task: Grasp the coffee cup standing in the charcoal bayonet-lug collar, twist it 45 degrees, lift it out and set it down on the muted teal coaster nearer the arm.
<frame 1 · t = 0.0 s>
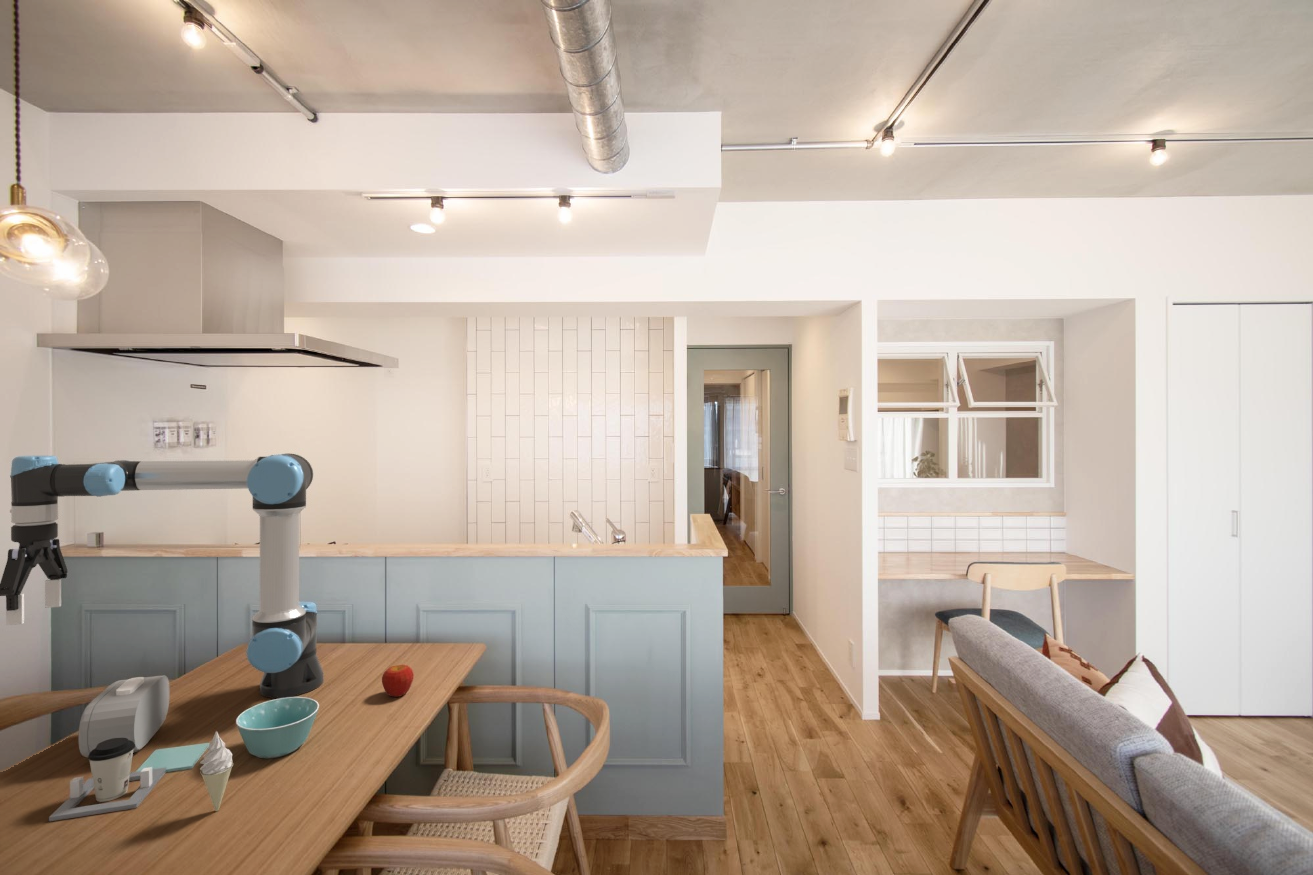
hand: (35, 615, 140), 28 cm above the table, fingers open, 13 cm apart
coffee cup: (112, 795, 119), resting in collar
apple: (397, 694, 165), on the table
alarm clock: (127, 743, 138), on the table
ice cream cone: (216, 811, 114), on the table
collar: (112, 794, 119), on the table
bowl: (278, 749, 137), on the table
coaster: (173, 760, 131), on the table
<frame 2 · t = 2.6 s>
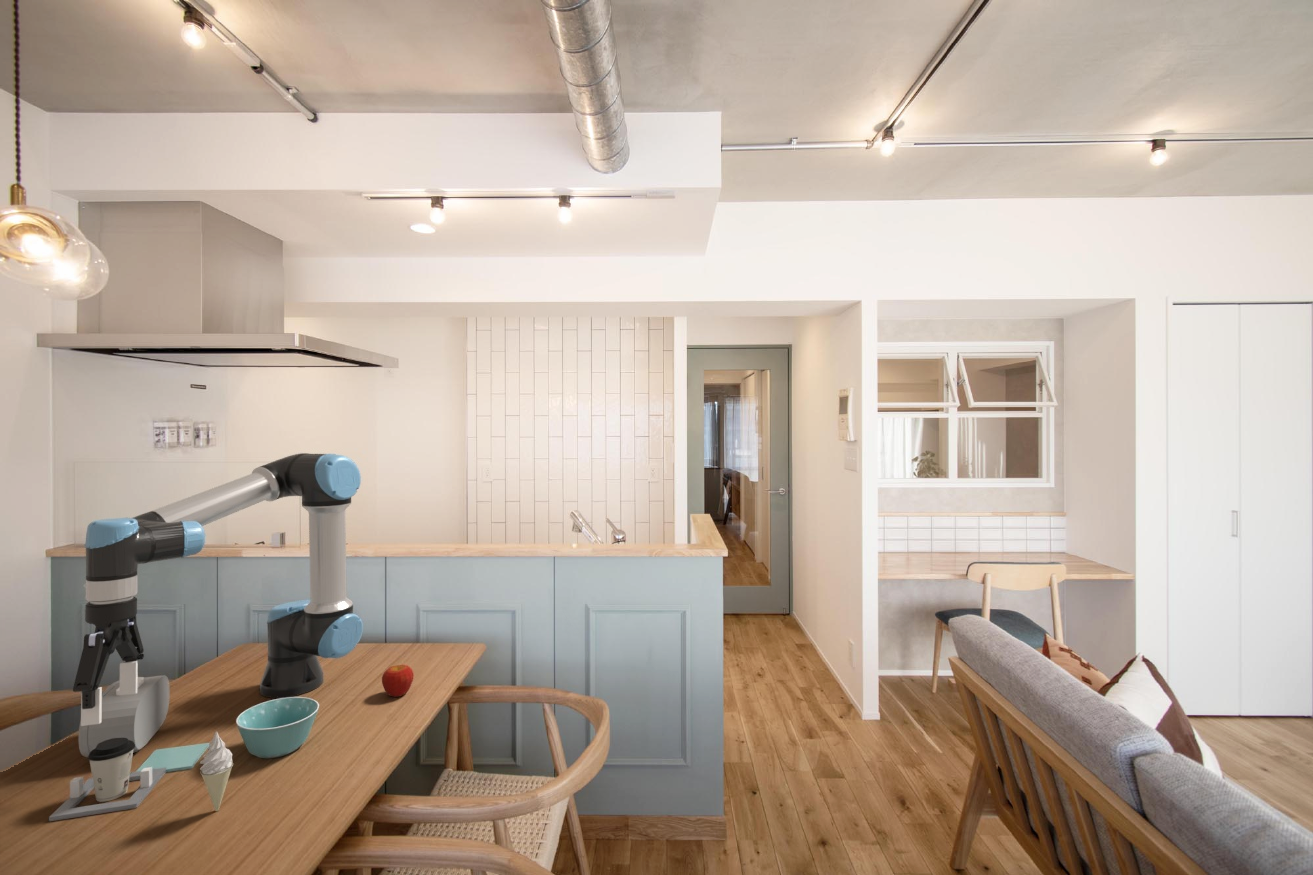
hand: (110, 708, 119), 17 cm above the table, fingers open, 13 cm apart
nothing on the table moved.
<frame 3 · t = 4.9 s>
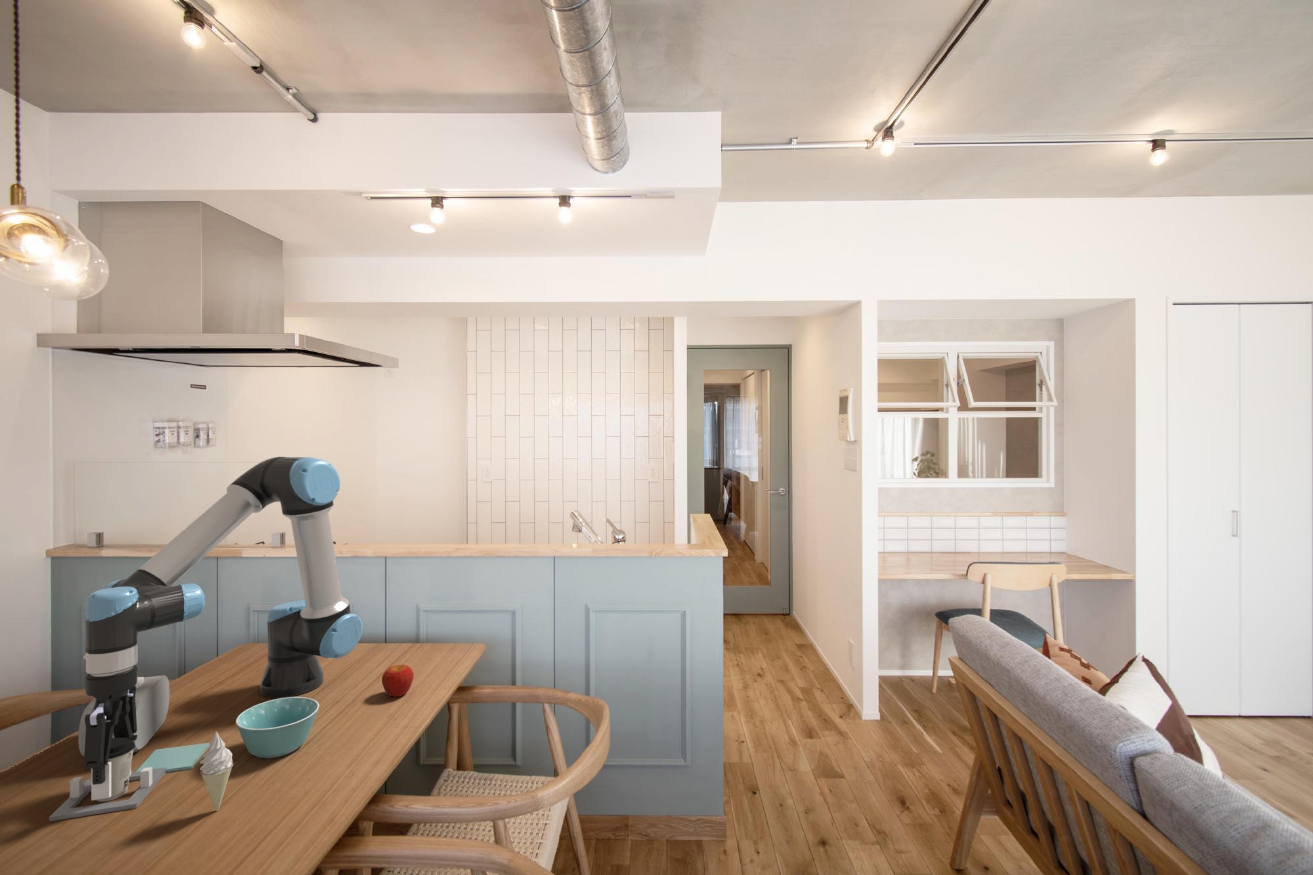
hand: (111, 786, 119), 2 cm above the table, fingers closed on coffee cup, 7 cm apart
coffee cup: (112, 795, 119), resting in collar, touching gripper
everything else where it was.
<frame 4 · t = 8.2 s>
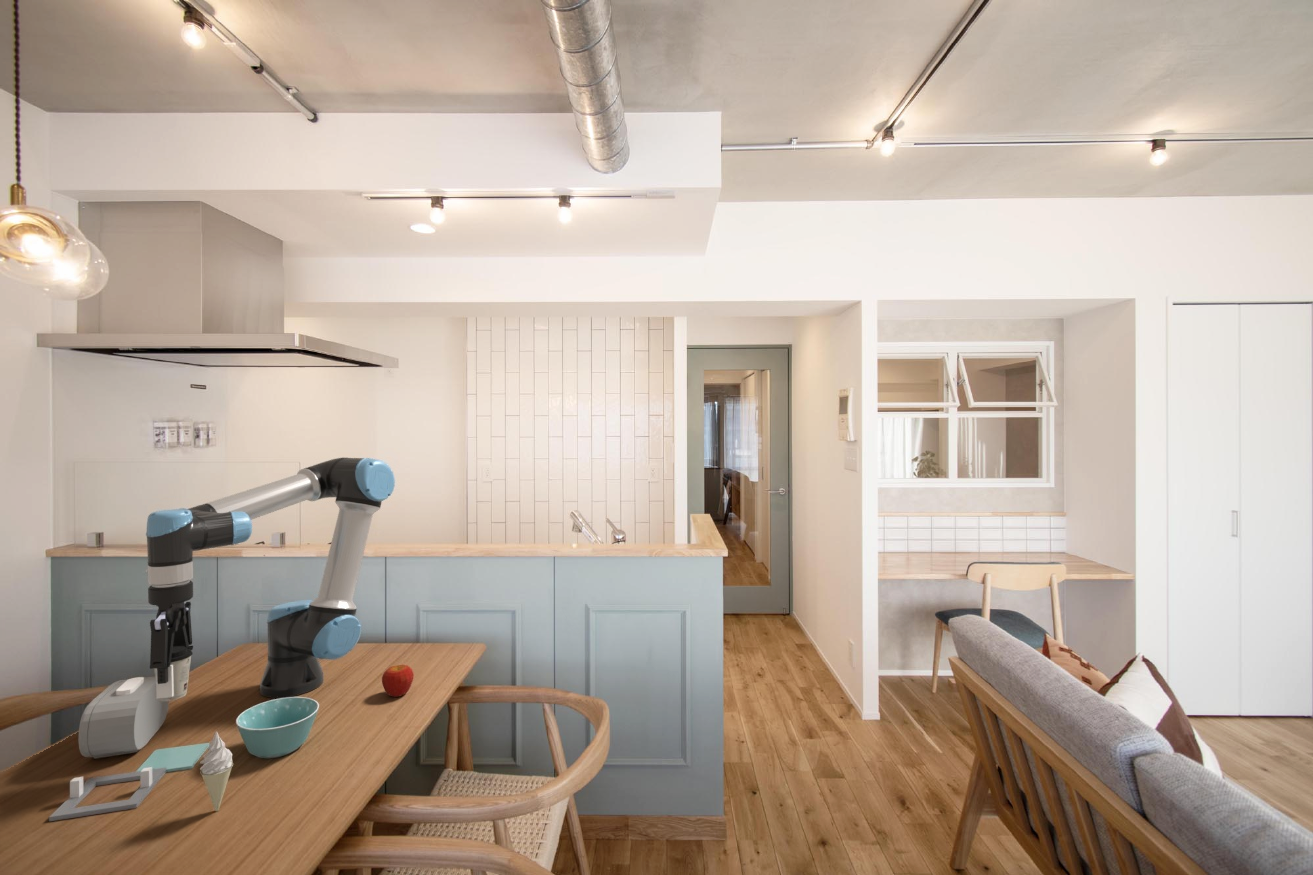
hand: (173, 689, 131), 15 cm above the table, fingers closed on coffee cup, 7 cm apart
coffee cup: (173, 697, 131), point 14 cm above the table, touching gripper
everything else where it was.
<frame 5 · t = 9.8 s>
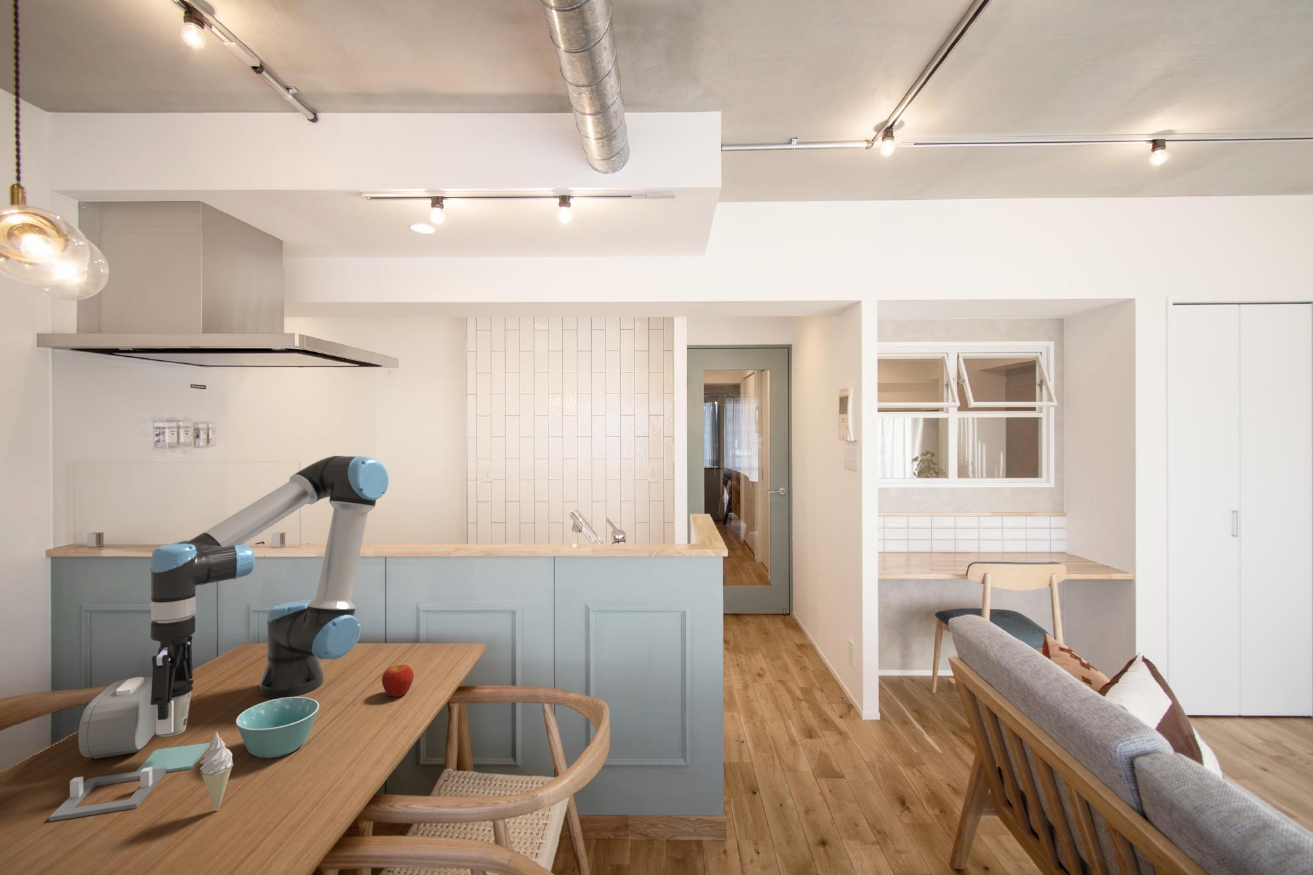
hand: (172, 724, 131), 8 cm above the table, fingers closed on coffee cup, 7 cm apart
coffee cup: (172, 732, 131), point 6 cm above the table, touching gripper
everything else where it was.
when the fingers open (4 cm above the table, at t = 11.4 s): coffee cup drops 1 cm, resting on coaster.
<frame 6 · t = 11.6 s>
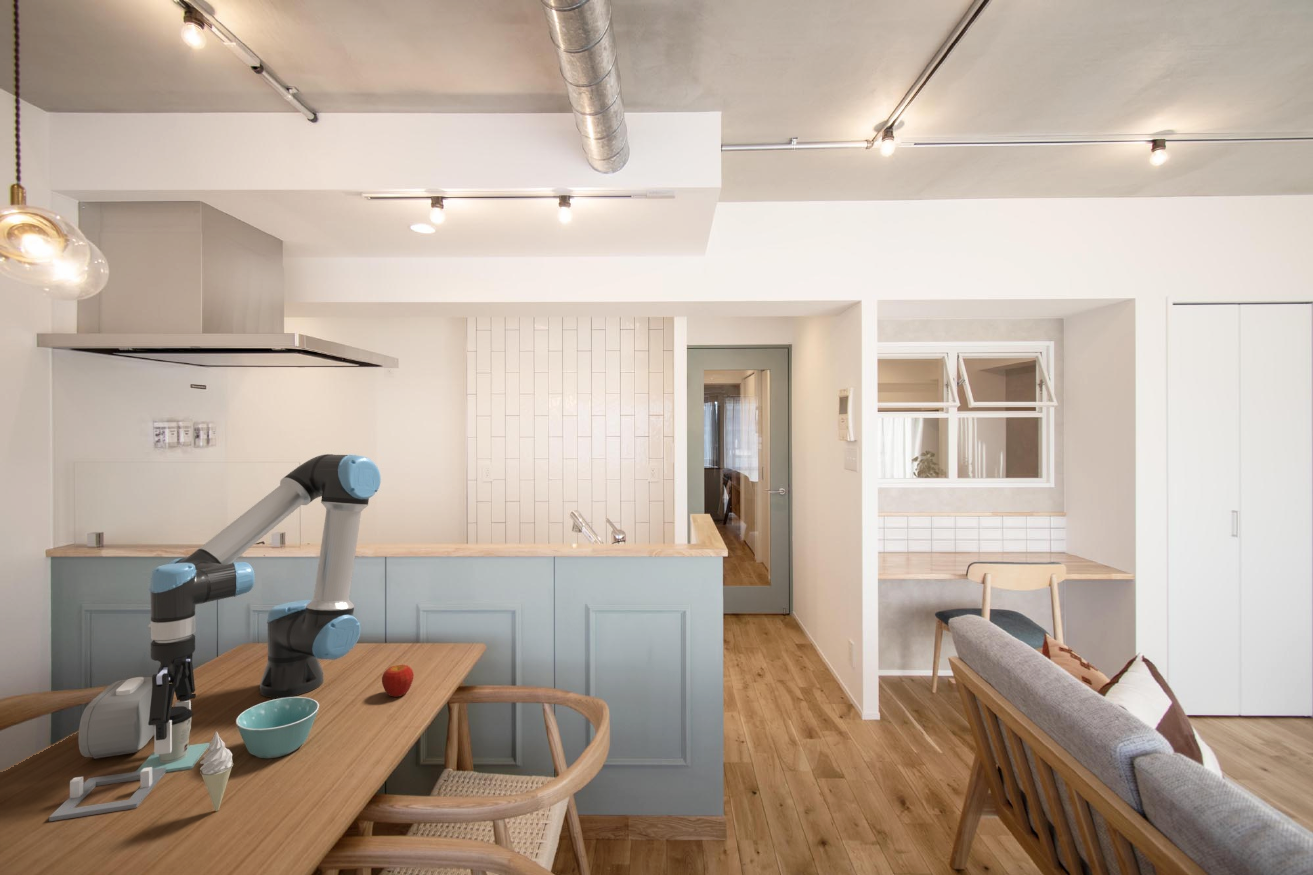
hand: (173, 741, 131), 4 cm above the table, fingers open, 9 cm apart
coffee cup: (173, 758, 131), resting on coaster
everything else where it was.
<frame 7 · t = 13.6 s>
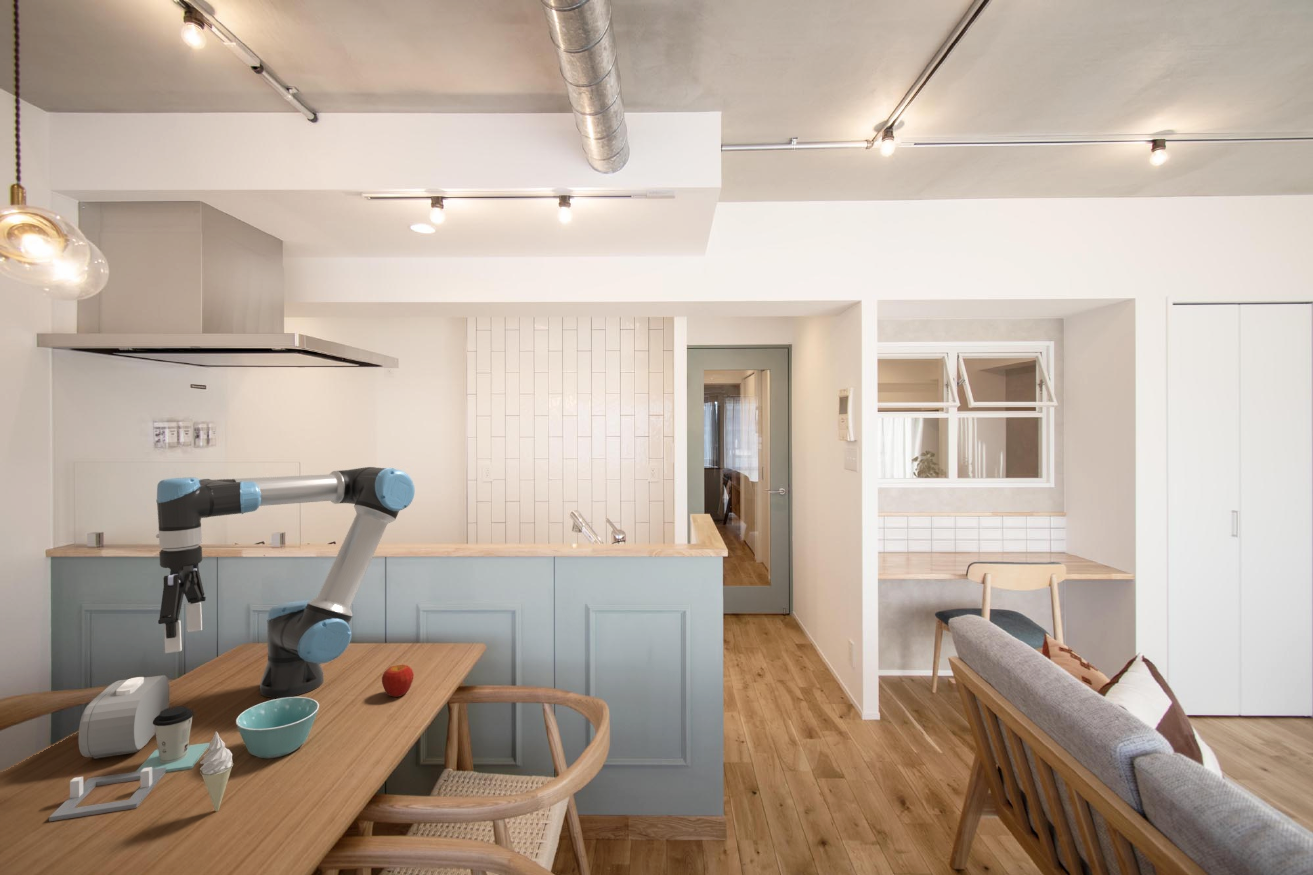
hand: (184, 640, 138), 23 cm above the table, fingers open, 13 cm apart
nothing on the table moved.
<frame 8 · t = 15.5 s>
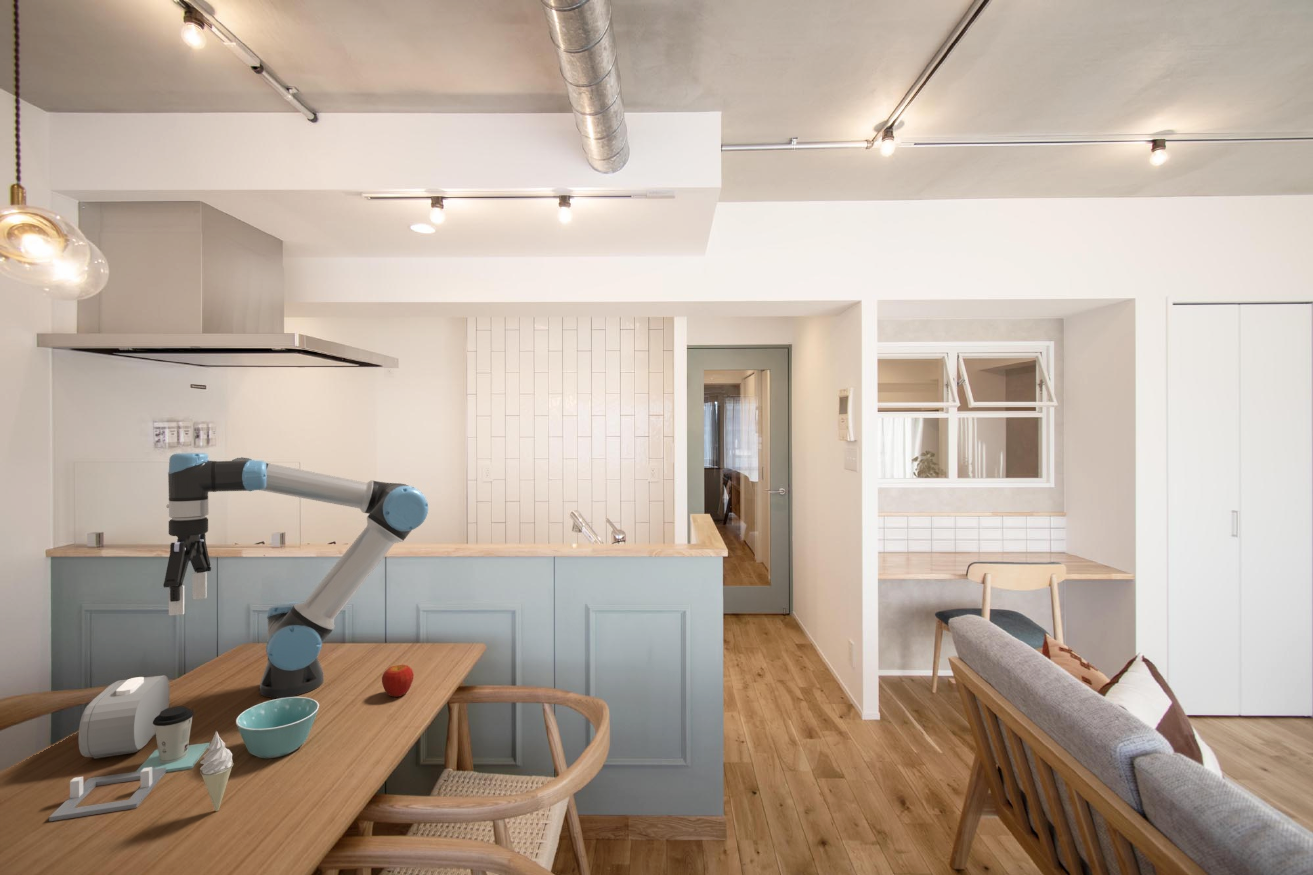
hand: (188, 606, 146), 29 cm above the table, fingers open, 13 cm apart
nothing on the table moved.
at the end: coffee cup 0.1 cm from the coaster (horizontally); coffee cup tilted 0°; the gripper is holding nothing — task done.
